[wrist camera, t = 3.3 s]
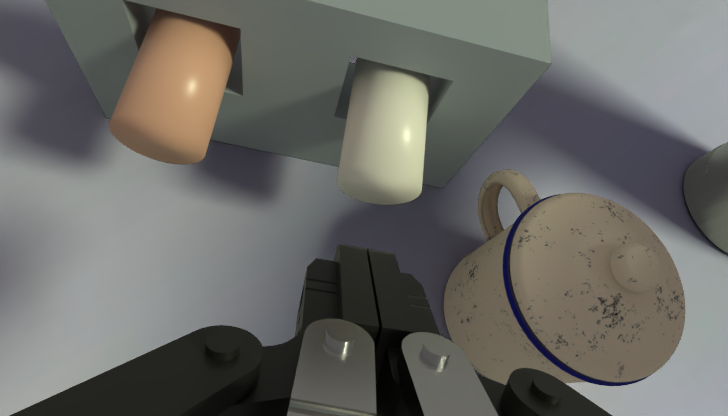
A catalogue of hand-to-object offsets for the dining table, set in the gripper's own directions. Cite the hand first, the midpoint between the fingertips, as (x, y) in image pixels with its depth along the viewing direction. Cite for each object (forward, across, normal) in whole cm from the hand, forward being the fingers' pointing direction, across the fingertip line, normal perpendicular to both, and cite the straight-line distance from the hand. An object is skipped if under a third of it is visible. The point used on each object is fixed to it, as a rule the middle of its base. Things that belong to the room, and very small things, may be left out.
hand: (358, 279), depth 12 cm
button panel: (+20, -3, -1) cm, 21 cm away
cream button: (+14, +2, +1) cm, 14 cm away
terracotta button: (+14, -8, +1) cm, 16 cm away
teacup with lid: (+15, +12, -7) cm, 20 cm away
